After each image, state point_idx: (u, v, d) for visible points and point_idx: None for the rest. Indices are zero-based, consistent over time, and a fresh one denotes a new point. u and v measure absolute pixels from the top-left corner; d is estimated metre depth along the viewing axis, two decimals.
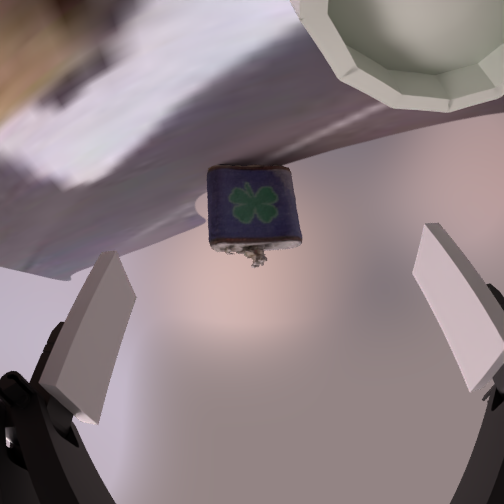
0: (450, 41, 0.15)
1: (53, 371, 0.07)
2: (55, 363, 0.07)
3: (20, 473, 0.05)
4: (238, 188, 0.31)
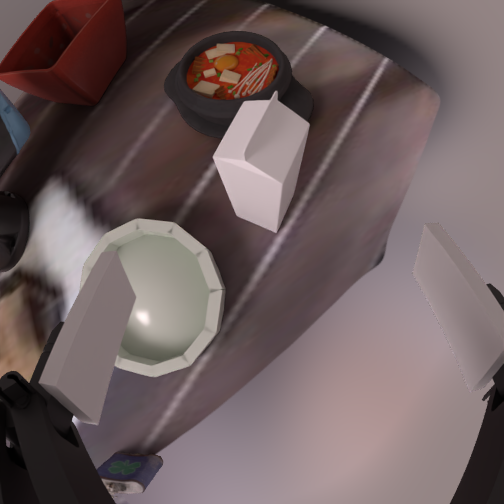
0: (178, 324, 0.39)
1: (53, 371, 0.07)
2: (55, 363, 0.07)
3: (20, 473, 0.05)
4: (121, 461, 0.35)
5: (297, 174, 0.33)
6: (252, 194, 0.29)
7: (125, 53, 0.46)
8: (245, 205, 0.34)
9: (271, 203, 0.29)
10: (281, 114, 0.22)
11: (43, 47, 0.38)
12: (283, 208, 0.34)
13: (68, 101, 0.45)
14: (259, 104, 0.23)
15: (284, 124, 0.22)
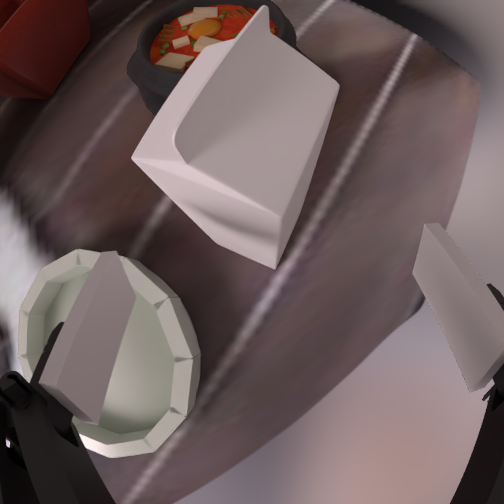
0: (139, 392, 0.26)
1: (53, 371, 0.07)
2: (55, 363, 0.07)
3: (20, 473, 0.05)
4: None
5: (308, 184, 0.20)
6: (228, 225, 0.16)
7: (88, 34, 0.33)
8: (222, 236, 0.21)
9: (261, 241, 0.16)
10: (279, 59, 0.09)
11: None
12: (285, 241, 0.21)
13: (20, 95, 0.32)
14: None
15: (286, 80, 0.09)
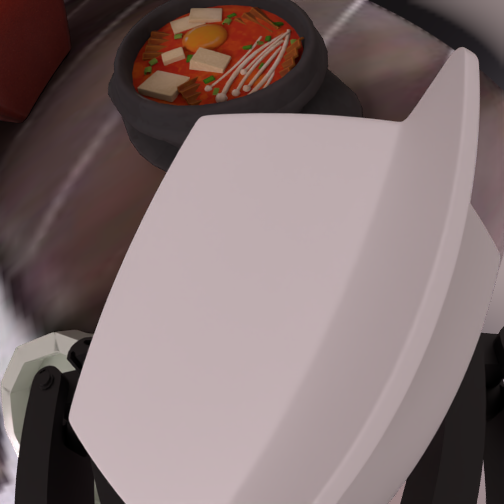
0: None
1: None
2: None
3: (71, 458, 0.06)
4: None
5: None
6: None
7: (67, 42, 0.27)
8: None
9: None
10: None
11: None
12: None
13: None
14: (280, 145, 0.04)
15: None
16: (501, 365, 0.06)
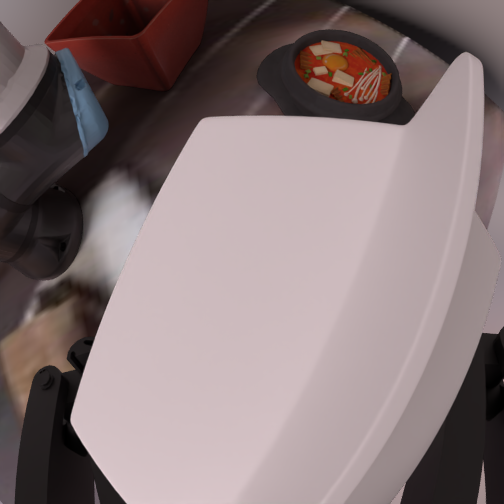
0: None
1: None
2: None
3: (71, 458, 0.06)
4: None
5: None
6: None
7: (201, 37, 0.42)
8: None
9: None
10: None
11: (102, 19, 0.35)
12: None
13: (133, 83, 0.41)
14: (283, 148, 0.04)
15: None
16: (501, 365, 0.06)
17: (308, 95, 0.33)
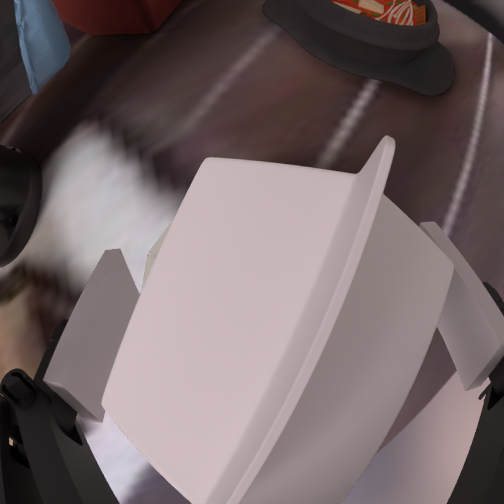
0: None
1: (57, 368, 0.07)
2: (59, 360, 0.08)
3: (23, 472, 0.05)
4: None
5: None
6: None
7: None
8: None
9: None
10: (380, 257, 0.04)
11: None
12: None
13: (113, 27, 0.29)
14: (267, 190, 0.05)
15: (387, 306, 0.05)
16: None
17: (333, 13, 0.21)
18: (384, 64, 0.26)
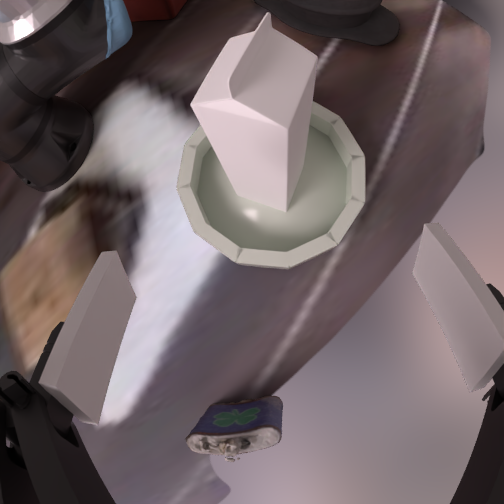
0: (309, 205, 0.34)
1: (53, 371, 0.07)
2: (55, 363, 0.07)
3: (20, 473, 0.05)
4: (226, 412, 0.30)
5: (306, 134, 0.25)
6: (251, 157, 0.21)
7: None
8: (244, 177, 0.27)
9: (275, 167, 0.22)
10: (278, 43, 0.15)
11: None
12: (292, 177, 0.26)
13: (141, 15, 0.39)
14: (248, 36, 0.15)
15: (284, 55, 0.15)
16: None
17: None
18: (341, 27, 0.35)
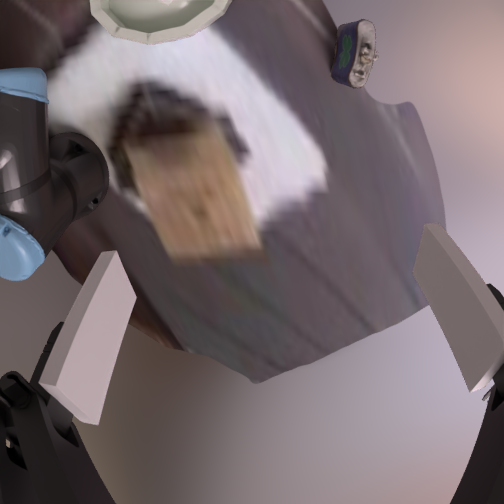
0: None
1: (53, 371, 0.07)
2: (55, 363, 0.07)
3: (20, 473, 0.05)
4: (339, 61, 0.34)
5: None
6: None
7: None
8: None
9: None
10: None
11: None
12: None
13: None
14: None
15: None
16: None
17: None
18: None
